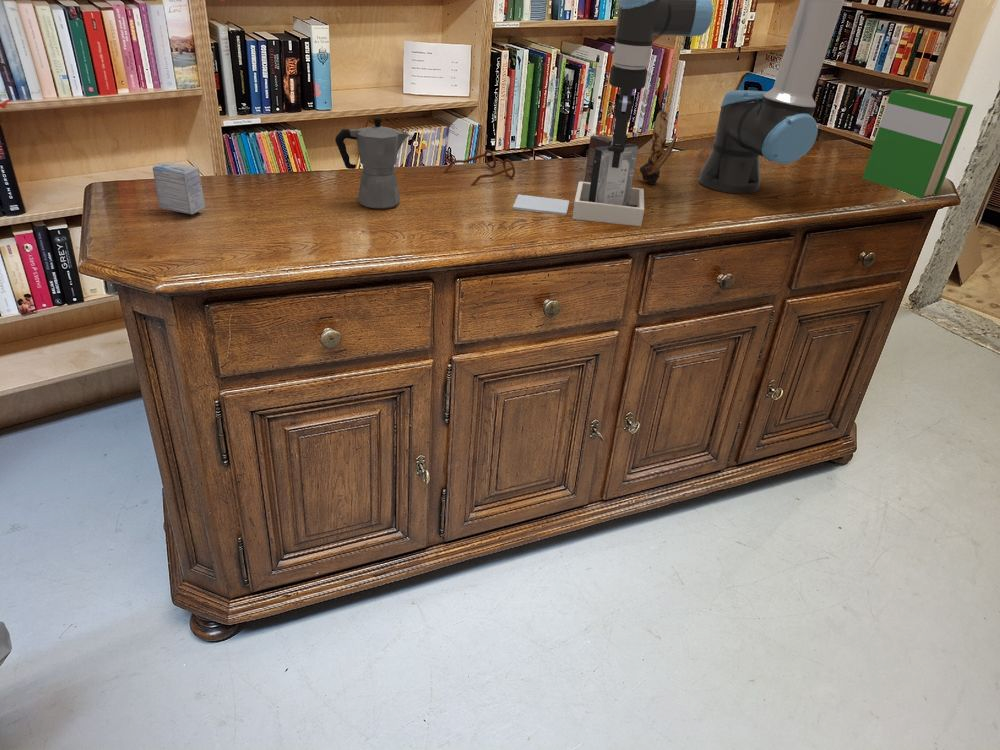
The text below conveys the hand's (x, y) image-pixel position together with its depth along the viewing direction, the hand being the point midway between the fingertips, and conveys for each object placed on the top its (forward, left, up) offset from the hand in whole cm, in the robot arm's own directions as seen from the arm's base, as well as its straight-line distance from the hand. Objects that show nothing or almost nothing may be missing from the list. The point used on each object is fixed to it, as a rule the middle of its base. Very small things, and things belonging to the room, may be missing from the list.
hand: (613, 175), depth 163 cm
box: (+3, -18, -9) cm, 20 cm away
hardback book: (-76, -45, -9) cm, 89 cm away
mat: (+15, +1, -8) cm, 17 cm away
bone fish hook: (-10, -24, -9) cm, 27 cm away
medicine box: (+86, +29, -9) cm, 91 cm away
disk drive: (0, 0, -9) cm, 9 cm away
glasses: (+32, -17, -9) cm, 38 cm away
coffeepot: (+51, +11, -9) cm, 53 cm away
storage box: (0, 0, -8) cm, 8 cm away
